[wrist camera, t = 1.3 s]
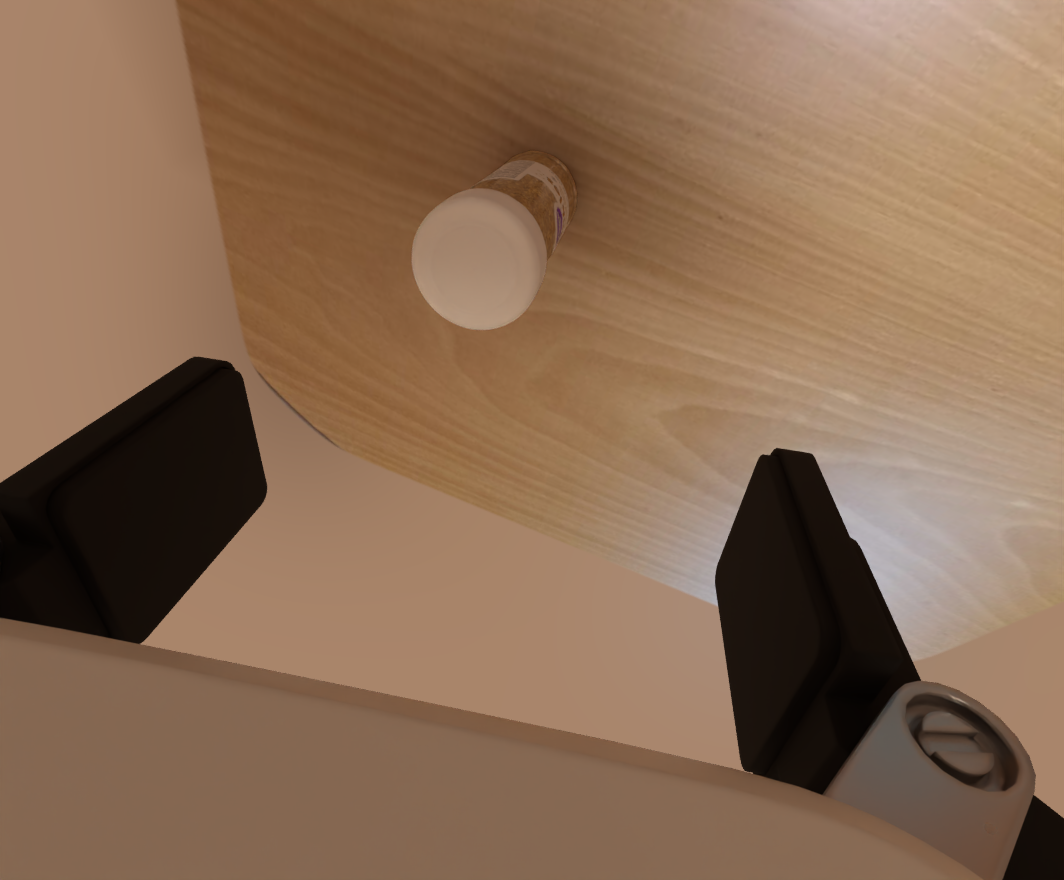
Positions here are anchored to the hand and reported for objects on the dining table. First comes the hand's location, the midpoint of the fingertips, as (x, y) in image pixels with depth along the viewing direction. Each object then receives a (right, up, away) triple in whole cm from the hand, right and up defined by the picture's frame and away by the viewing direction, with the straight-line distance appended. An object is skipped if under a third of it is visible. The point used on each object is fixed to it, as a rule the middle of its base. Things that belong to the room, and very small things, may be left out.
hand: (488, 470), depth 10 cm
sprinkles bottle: (+1, +14, +20) cm, 24 cm away
